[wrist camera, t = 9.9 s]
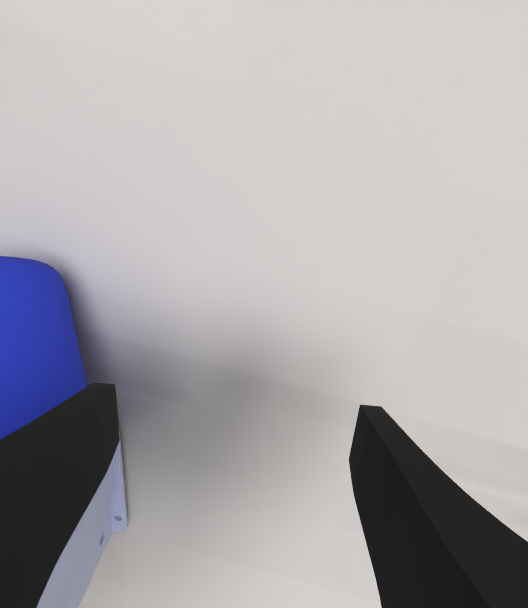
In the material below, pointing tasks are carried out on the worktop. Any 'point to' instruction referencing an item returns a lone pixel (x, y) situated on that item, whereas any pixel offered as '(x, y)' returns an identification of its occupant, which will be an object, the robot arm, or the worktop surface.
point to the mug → (35, 343)
